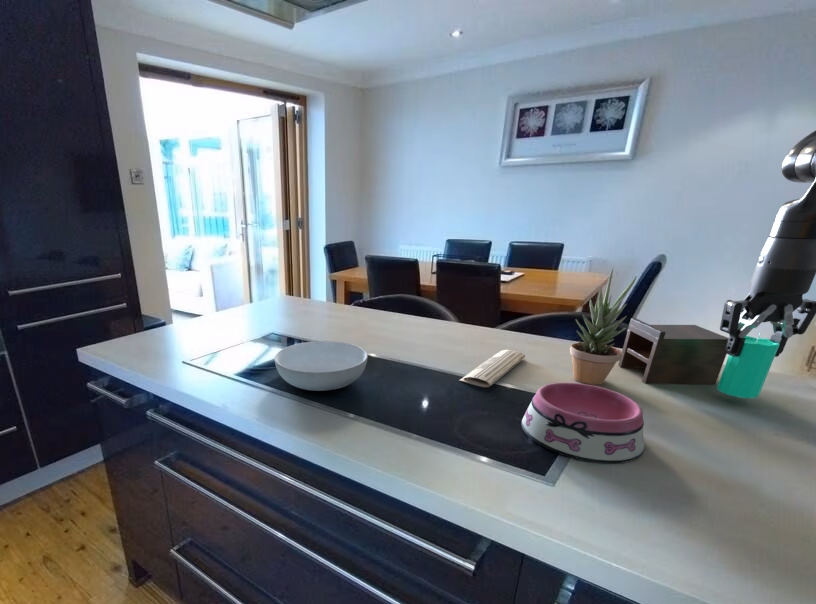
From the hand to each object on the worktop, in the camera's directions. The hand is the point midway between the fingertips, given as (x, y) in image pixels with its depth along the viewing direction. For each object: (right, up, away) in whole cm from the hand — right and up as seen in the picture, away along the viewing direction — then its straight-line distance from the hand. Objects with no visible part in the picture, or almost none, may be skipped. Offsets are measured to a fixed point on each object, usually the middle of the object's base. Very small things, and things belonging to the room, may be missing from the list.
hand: (751, 355), depth 83 cm
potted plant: (-20, -4, +16) cm, 27 cm away
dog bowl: (-36, -15, -6) cm, 40 cm away
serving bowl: (-81, -5, +19) cm, 83 cm away
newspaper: (-39, -2, +23) cm, 45 cm away
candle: (0, -7, +3) cm, 8 cm away
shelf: (-2, -3, +17) cm, 18 cm away
